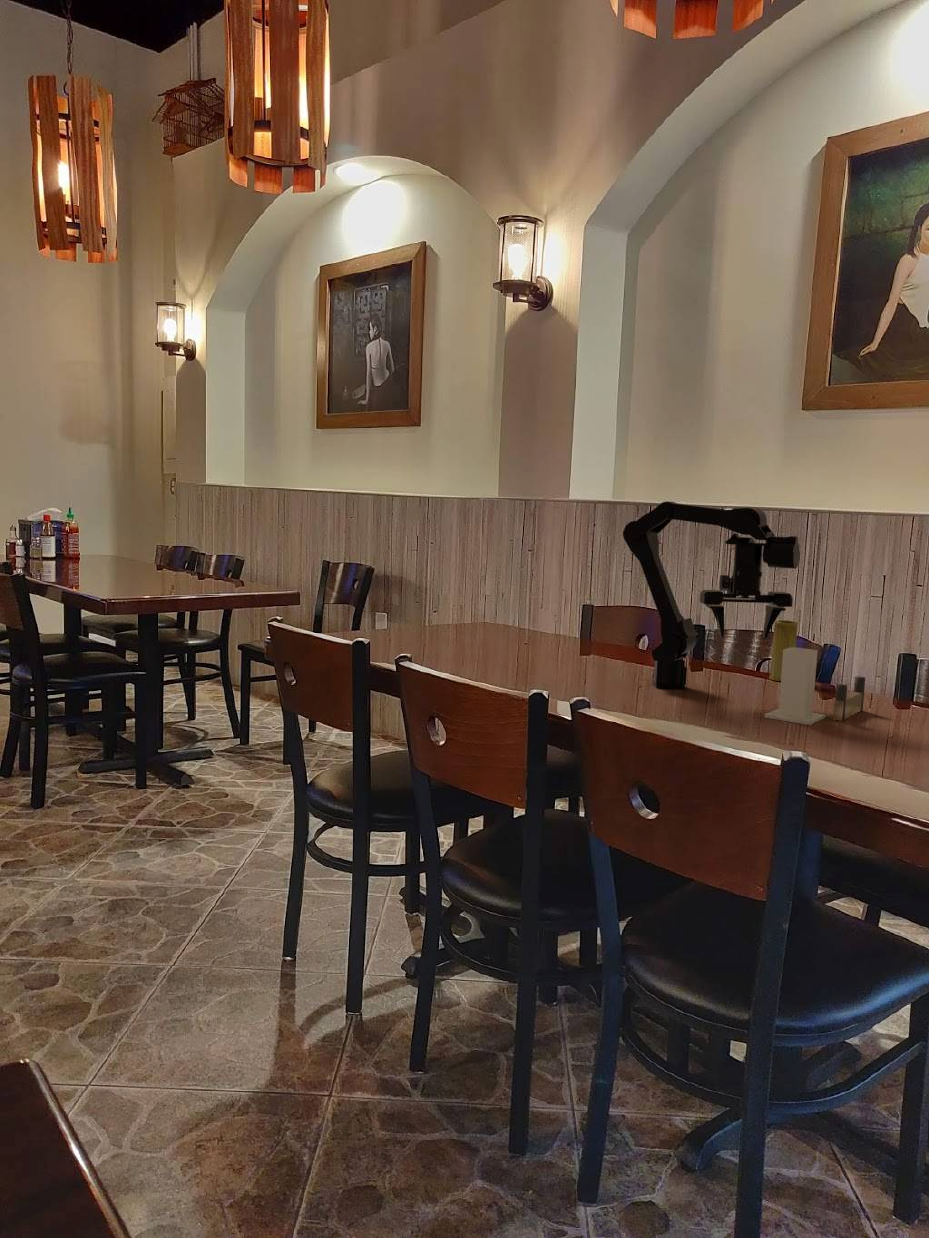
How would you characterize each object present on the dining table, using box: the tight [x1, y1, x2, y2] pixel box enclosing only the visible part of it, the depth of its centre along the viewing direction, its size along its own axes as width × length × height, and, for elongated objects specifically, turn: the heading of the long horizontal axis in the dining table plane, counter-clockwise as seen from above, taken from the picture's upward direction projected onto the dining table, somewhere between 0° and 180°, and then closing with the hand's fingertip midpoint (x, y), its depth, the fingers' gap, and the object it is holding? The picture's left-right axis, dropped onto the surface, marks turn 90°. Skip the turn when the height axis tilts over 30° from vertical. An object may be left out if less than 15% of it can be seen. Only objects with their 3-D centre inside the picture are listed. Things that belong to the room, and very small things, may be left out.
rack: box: [832, 676, 866, 722], centre depth 189 cm, size 2×14×7 cm, turn 141°
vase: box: [768, 619, 799, 682], centre depth 226 cm, size 6×6×14 cm
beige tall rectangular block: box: [778, 646, 818, 719], centre depth 184 cm, size 5×5×13 cm
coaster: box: [764, 708, 827, 726], centre depth 185 cm, size 9×9×1 cm
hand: (743, 637), depth 203 cm, fingers open, 9 cm apart
